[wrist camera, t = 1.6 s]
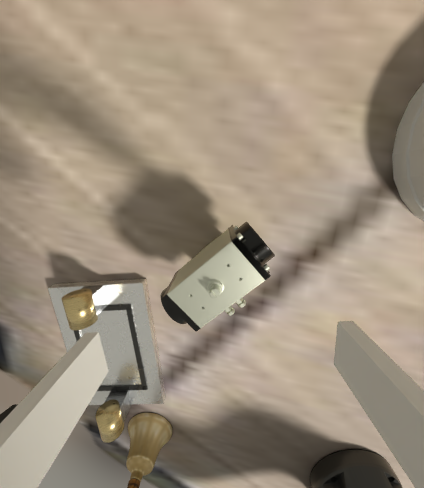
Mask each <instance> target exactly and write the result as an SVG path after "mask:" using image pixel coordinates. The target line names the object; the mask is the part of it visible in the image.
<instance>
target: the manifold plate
mask: <svg viewBox="0 0 424 488" xmlns="http://www.w3.org/2000/svg"><path fill="white" fill-rule="evenodd" d="M48 290H49V293H50V297H51V300H52V303H53V306H54V310H55V313H56V316H57V320H58V323H59V326H60V330H61V333H62V336H63V340H64V343H65V346H66V349H67V352H68V351H69V350H70V349H71V348H72V347H73V346H74V344H75V343H76V342H77V341H78V340H79V339H80V338H81V337H82V336H83V335H84V334H85V333H91V332H99V336H100V340H101V344H102V348H103V351H104V355H105V359H106V363H107V367H108V371H109V372H108V373H107V375H106V377H105V378H104V380H103V381H102V383H101V385H100V386H99V388H98V390H97V391H96V393H95V395H94V396H93V398H92V399H91V401H90V403H89V404H88V405H101V406H100V407H99V409H98V410H97V412H96V421H97V424H98V428H99V431H100V435H101V438H102V440H103V441H104V442H106V443H108V442H112V441H114V440H115V439H117V438H118V437H119V436H120V435H121V433H122V431H123V429H124V421H125V419H126V416H127V414H128V412H129V409H130V407H131V404H164V400H165V396H166V393H165V387H164V381H163V375H162V369H161V363H160V357H159V351H158V346H157V340H156V334H155V328H154V322H153V316H152V310H151V304H150V298H149V293H148V287H147V281H146V279H130V280H112V281H95V282H77V283H60V284H55V285H53V286H51V287H49V288H48Z"/></svg>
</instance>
